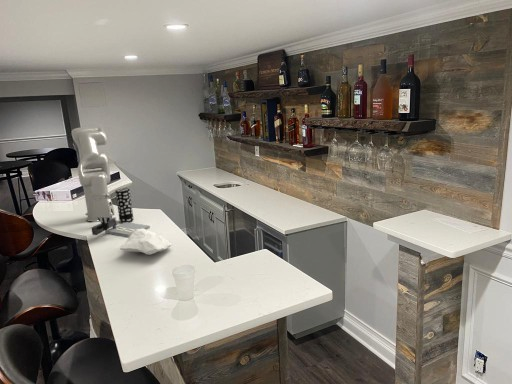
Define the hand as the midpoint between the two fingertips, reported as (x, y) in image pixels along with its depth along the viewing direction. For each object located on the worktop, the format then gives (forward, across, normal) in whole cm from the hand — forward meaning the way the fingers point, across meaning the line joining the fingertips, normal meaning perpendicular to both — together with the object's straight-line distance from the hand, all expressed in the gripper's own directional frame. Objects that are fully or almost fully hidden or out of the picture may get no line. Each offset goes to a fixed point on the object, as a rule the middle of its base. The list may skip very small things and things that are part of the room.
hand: (106, 229), depth 212 cm
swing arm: (+1, +3, -4) cm, 5 cm away
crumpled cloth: (+5, -30, +18) cm, 35 cm away
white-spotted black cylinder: (+5, +4, -29) cm, 30 cm away
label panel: (+5, -6, -12) cm, 14 cm away
